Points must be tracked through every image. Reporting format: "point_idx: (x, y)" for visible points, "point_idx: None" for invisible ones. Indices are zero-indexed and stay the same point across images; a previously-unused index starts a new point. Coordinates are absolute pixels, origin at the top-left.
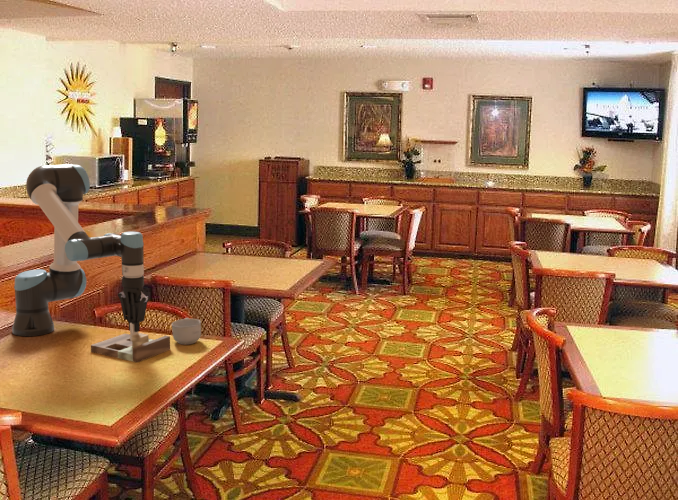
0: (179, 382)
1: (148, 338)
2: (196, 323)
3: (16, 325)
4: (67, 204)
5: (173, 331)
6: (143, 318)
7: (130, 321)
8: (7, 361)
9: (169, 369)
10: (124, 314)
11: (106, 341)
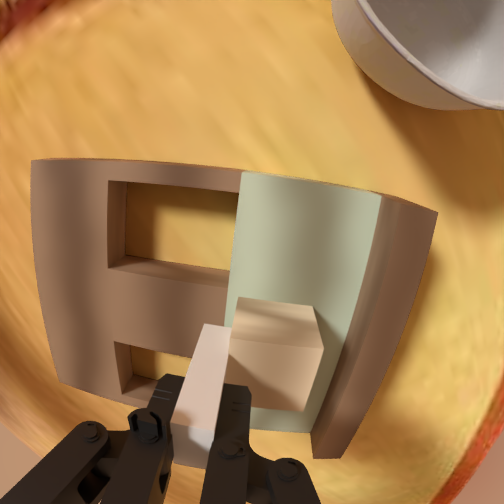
0: (489, 434)
1: (319, 333)
2: None
3: None
4: None
5: (396, 76)
6: (309, 492)
7: (170, 467)
8: (25, 443)
9: (462, 399)
10: (87, 494)
11: (59, 324)
